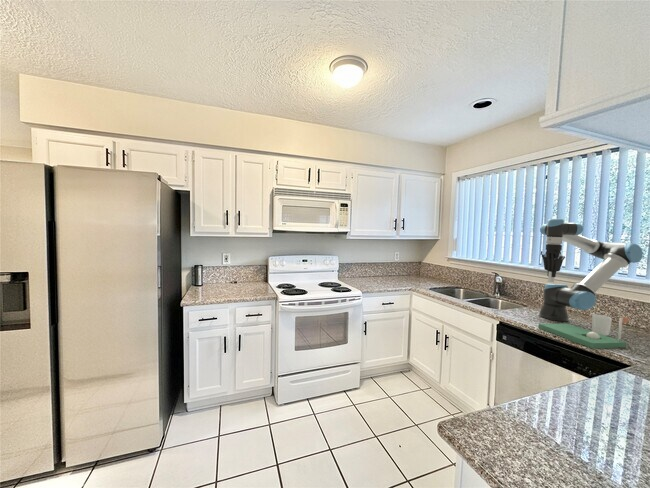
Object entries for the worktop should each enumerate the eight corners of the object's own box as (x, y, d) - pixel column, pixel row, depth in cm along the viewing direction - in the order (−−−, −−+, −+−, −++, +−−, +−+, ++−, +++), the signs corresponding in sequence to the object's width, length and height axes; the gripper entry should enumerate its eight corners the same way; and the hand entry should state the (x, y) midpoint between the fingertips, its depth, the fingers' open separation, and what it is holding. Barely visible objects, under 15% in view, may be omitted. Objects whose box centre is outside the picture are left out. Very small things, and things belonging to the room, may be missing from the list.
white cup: (614, 336, 149) (616, 319, 149) (597, 335, 150) (599, 317, 150) (602, 331, 157) (604, 314, 156) (587, 330, 158) (588, 313, 158)
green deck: (570, 327, 162) (572, 303, 162) (629, 347, 135) (631, 318, 134) (538, 327, 159) (540, 303, 158) (592, 348, 131) (594, 319, 131)
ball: (585, 338, 144) (594, 333, 143) (594, 345, 139) (603, 340, 138) (582, 333, 142) (591, 328, 141) (591, 339, 138) (601, 334, 137)
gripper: (538, 243, 171) (535, 280, 172) (559, 244, 158) (556, 284, 159) (548, 243, 172) (546, 280, 173) (570, 244, 159) (567, 284, 160)
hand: (550, 282), depth 166 cm, fingers closed
